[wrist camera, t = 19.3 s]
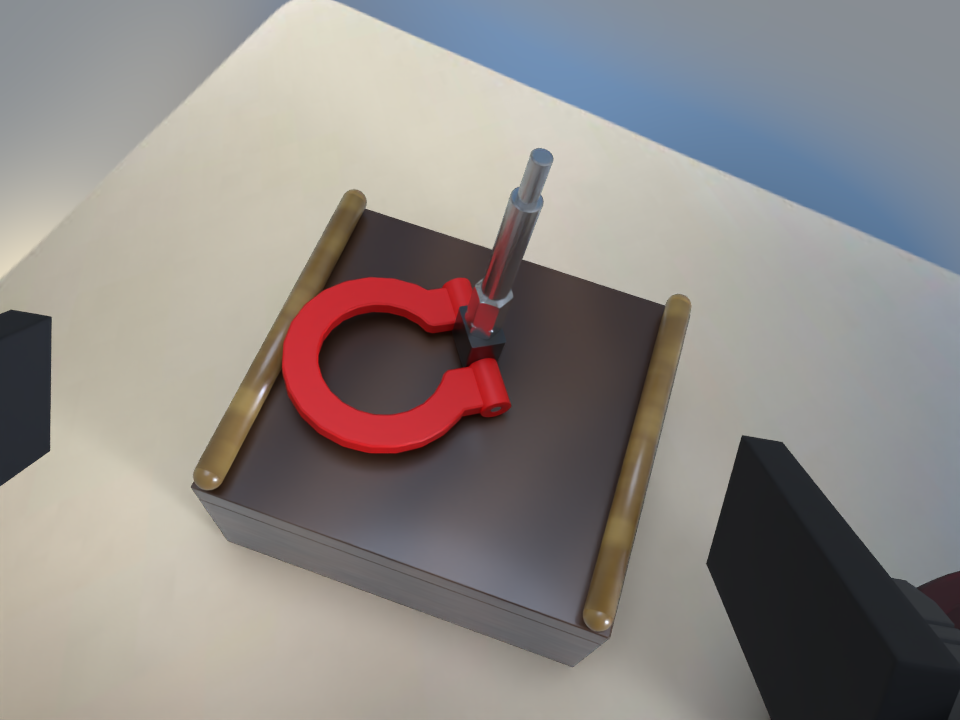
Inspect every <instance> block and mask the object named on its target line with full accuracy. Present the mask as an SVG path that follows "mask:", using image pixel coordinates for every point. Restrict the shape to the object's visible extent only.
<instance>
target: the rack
mask: <svg viewBox="0 0 960 720" xmlns="http://www.w3.org/2000/svg"><path fill="white" fill-rule="evenodd" d="M366 204H367V200H366V197H365V195H364V194H363V193H362V192H361V191H359V190H355V189H353V190H349V191H347V192H346V193H345V194H344V195H343V197H342V199H341V201H340V203H339V205H338V206H337V208H336V210H335V212H334V214H333V216H332V217H331V219H330V221H329V223H328V225H327V227H326V229H325V230H324V232H323V234H322V236H321V238H320V240H319V241H318V243H317V245H316V247H315V249H314V251H313V252H312V254H311V256H310V258H309V260H308V262H307V263H306V265H305V267H304V269H303V271H302V273H301V275H300V276H299V278H298V280H297V282H296V284H295V286H294V287H293V289H292V291H291V293H290V295H289V297H288V298H287V300H286V302H285V304H284V306H283V308H282V309H281V311H280V313H279V315H278V317H277V319H276V320H275V322H274V324H273V326H272V328H271V330H270V332H269V333H268V335H267V337H266V339H265V341H264V343H263V344H262V346H261V348H260V350H259V352H258V354H257V355H256V357H255V359H254V361H253V363H252V365H251V366H250V368H249V370H248V372H247V374H246V376H245V378H244V379H243V381H242V383H241V385H240V387H239V389H238V390H237V392H236V394H235V396H234V398H233V400H232V401H231V403H230V405H229V407H228V409H227V411H226V412H225V414H224V416H223V418H222V420H221V422H220V423H219V425H218V427H217V429H216V431H215V433H214V435H213V436H212V438H211V440H210V442H209V444H208V446H207V447H206V449H205V451H204V453H203V455H202V457H201V458H200V460H199V462H198V464H197V466H196V468H195V470H194V473H193V479H194V482H193V484H192V486H191V488H192V490H193V491H194V493H195V494H196V495H197V497H198V498H199V500H200V501H201V503H202V504H203V506H204V507H205V509H206V510H207V511H208V513H209V514H210V516H211V517H212V519H213V520H214V522H215V523H216V524H217V526H218V527H219V529H220V530H221V532H222V533H223V534H224V536H225V537H226V539H227V540H228V541H230V542H233V543H235V544H238V545H241V546H243V547H246V548H249V549H252V550H254V551H257V552H260V553H263V554H265V555H268V556H271V557H274V558H276V559H279V560H282V561H284V562H287V563H290V564H293V565H295V566H298V567H301V568H304V569H306V570H309V571H312V572H315V573H317V574H320V575H323V576H325V577H328V578H331V579H334V580H336V581H339V582H342V583H345V584H347V585H350V586H353V587H355V588H358V589H361V590H364V591H366V592H369V593H372V594H375V595H377V596H380V597H383V598H386V599H388V600H391V601H394V602H396V603H399V604H402V605H405V606H407V607H410V608H413V609H416V610H418V611H421V612H424V613H427V614H429V615H432V616H435V617H437V618H440V619H443V620H446V621H448V622H451V623H454V624H457V625H459V626H462V627H465V628H468V629H470V630H473V631H476V632H478V633H481V634H484V635H487V636H489V637H492V638H495V639H498V640H500V641H503V642H506V643H509V644H511V645H514V646H517V647H519V648H522V649H525V650H528V651H530V652H533V653H536V654H539V655H541V656H544V657H547V658H549V659H552V660H555V661H558V662H560V663H563V664H566V665H569V666H571V667H574V666H575V665H576V664H578V663H579V662H580V661H581V660H583V659H584V658H585V657H587V656H588V655H589V654H590V653H592V652H593V651H594V650H595V649H597V648H598V647H599V646H601V645H602V644H603V643H604V642H606V641H607V640H608V639H609V638H610V636H611V632H612V628H613V624H614V620H615V616H616V612H617V608H618V604H619V600H620V596H621V592H622V588H623V583H624V579H625V575H626V571H627V567H628V563H629V559H630V555H631V551H632V547H633V543H634V539H635V535H636V531H637V527H638V523H639V519H640V515H641V511H642V507H643V503H644V499H645V495H646V491H647V487H648V483H649V479H650V475H651V471H652V467H653V463H654V459H655V455H656V451H657V447H658V443H659V439H660V435H661V431H662V427H663V423H664V419H665V415H666V411H667V407H668V403H669V399H670V395H671V391H672V387H673V383H674V379H675V374H676V370H677V366H678V362H679V358H680V354H681V350H682V346H683V342H684V338H685V334H686V330H687V326H688V322H689V318H690V312H691V302H690V300H689V299H688V297H686V296H685V295H682V294H675V295H672V296H671V297H670V298H669V299H668V300H667V302H666V304H665V306H664V305H661V304H658V303H655V302H652V301H649V300H646V299H643V298H639V297H636V296H633V295H630V294H627V293H624V292H621V291H618V290H615V289H612V288H609V287H605V286H602V285H599V284H596V283H593V282H590V281H587V280H584V279H581V278H578V277H575V276H571V275H568V274H565V273H562V272H559V271H556V270H553V269H550V268H547V267H544V266H541V265H538V264H534V263H531V262H528V261H525V260H522V261H521V264H520V266H519V269H518V271H517V274H516V277H515V279H514V282H513V284H512V287H511V290H512V293H513V301H512V303H511V306H510V309H509V311H508V314H507V316H506V319H505V320H504V324H503V326H502V329H503V332H504V335H505V338H506V343H505V345H504V348H503V350H502V353H501V355H500V357H499V360H498V362H497V364H498V367H499V370H500V373H501V376H502V379H503V382H504V385H505V388H506V391H507V394H508V397H509V400H510V403H511V408H510V409H509V410H508V411H506V412H505V413H503V414H501V415H498V416H494V417H483V416H481V414H480V413H478V414H473V415H467V416H462V417H461V419H460V420H459V421H458V422H457V423H456V424H455V425H454V426H453V427H452V428H451V429H450V430H449V431H448V432H447V433H445V434H444V435H443V436H442V437H440V438H438V439H436V440H434V441H432V442H430V443H429V444H427V445H425V446H423V447H421V448H417V449H412V450H408V451H404V452H400V453H366V452H362V451H358V450H354V449H350V448H347V447H343V446H341V445H339V444H337V443H335V442H333V441H332V440H330V439H328V438H326V437H324V436H322V435H320V434H319V433H318V432H317V431H316V430H315V429H314V428H313V427H311V426H310V425H309V424H308V423H307V422H306V421H305V420H304V419H303V418H302V417H301V416H300V414H299V413H298V411H297V409H296V408H295V406H294V405H293V403H292V401H291V400H290V398H289V396H288V393H287V389H286V386H285V382H284V378H283V374H282V357H283V343H284V340H285V337H286V335H287V332H288V329H289V327H290V324H291V322H292V321H293V319H294V318H295V317H296V315H297V314H298V313H299V311H300V310H301V309H302V308H303V306H304V305H305V304H306V303H307V302H309V301H310V300H311V299H313V298H314V297H315V296H317V295H318V294H319V293H321V292H322V291H323V290H326V289H328V288H330V287H333V286H335V285H337V284H340V283H342V282H345V281H349V280H355V279H361V278H367V277H376V278H394V279H398V280H402V281H405V282H409V283H413V284H416V285H419V286H421V287H422V288H424V289H426V290H432V289H439V288H442V287H443V285H444V284H445V283H447V282H448V281H450V280H452V279H455V278H466V279H468V280H469V281H470V283H471V286H472V289H474V286H475V285H476V284H477V283H478V282H479V281H480V280H482V279H483V277H484V274H485V271H486V268H487V265H488V262H489V259H490V256H491V253H492V250H491V249H488V248H485V247H482V246H479V245H476V244H473V243H470V242H467V241H463V240H460V239H457V238H454V237H451V236H448V235H445V234H442V233H439V232H436V231H433V230H429V229H426V228H423V227H420V226H417V225H414V224H411V223H408V222H405V221H402V220H399V219H395V218H392V217H389V216H386V215H383V214H380V213H377V212H374V211H371V210H368V209H365V208H366ZM318 364H319V368H320V371H321V375H322V378H323V379H324V381H325V383H326V384H327V386H328V387H329V389H330V391H331V392H332V393H334V394H335V395H336V396H337V397H338V398H339V399H340V400H341V401H342V402H344V403H346V404H348V405H349V406H351V407H353V408H355V409H357V410H360V411H364V412H367V413H371V414H382V415H393V414H397V413H402V412H406V411H409V410H411V409H413V408H415V407H417V406H419V405H421V404H423V403H424V402H425V401H426V400H427V399H428V398H429V397H431V396H432V395H433V394H434V393H435V391H436V389H437V388H438V386H439V384H440V383H441V380H442V377H443V374H444V373H445V372H446V371H447V370H452V369H458V368H463V366H462V363H461V359H460V356H459V353H458V350H457V347H456V343H455V340H454V337H453V334H452V330H451V331H444V332H438V333H430V332H426V331H425V330H424V329H423V328H422V327H421V326H420V325H418V324H417V323H415V322H413V321H411V320H409V319H407V318H405V317H403V316H399V315H396V314H392V313H385V312H370V313H365V314H359V315H356V316H354V317H351V318H349V319H347V320H344V321H343V322H341V323H340V324H339V325H338V326H336V327H335V328H334V329H333V330H331V332H330V333H329V335H328V336H327V337H326V339H325V340H324V341H323V344H322V347H321V350H320V352H319V355H318Z"/></svg>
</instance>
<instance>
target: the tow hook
mask: <svg viewBox="0 0 960 720" xmlns="http://www.w3.org/2000/svg"><path fill="white" fill-rule="evenodd" d="M552 163H553V156H552V154H551V153H550V152H549V151H548V150H546V149H542V148H537V149H534V150H533V151H532V152H531V154H530V157H529V160H528V163H527V166H526V169H525V172H524V175H523V178H522V181H521V184H520V187H517V188H515V189H514V190H513V191H512V193H511V195H510V198H509V201H508V204H507V207H506V210H505V213H504V216H503V219H502V222H501V225H500V228H499V231H498V234H497V237H496V241H495V244H494V247H493V250H492V253H491V256H490V259H489V262H488V265H487V268H486V271H485V274H484V277H483V279H482V280H480V281H479V282H478V283H477V284H476V285H475V286H474V289H472V286H471V283H470V281H469V280H468V279H466V278H455V279H452V280H450V281H448V282H447V283H445V284H444V285H443V287H442V288H439V289H432V290H426V289H424V288H422V287H421V286H419V285H416V284H413V283H409V282H405V281H402V280H398V279H394V278H376V277H367V278H361V279H355V280H349V281H345V282H342V283H340V284H337V285H335V286H333V287H330V288H328V289H326V290H323V291H322V292H321V293H319V294H318V295H317V296H315V297H314V298H313V299H311V300H310V301H309V302H307V303H306V304H305V305H304V306H303V308H302V309H301V310H300V311H299V313H298V314H297V315H296V317H295V318H294V319H293V321H292V322H291V324H290V327H289V329H288V332H287V335H286V337H285V340H284V343H283V357H282V374H283V378H284V382H285V386H286V389H287V393H288V396H289V398H290V400H291V401H292V403H293V405H294V406H295V408H296V409H297V411H298V413H299V414H300V416H301V417H302V418H303V419H304V420H305V421H306V422H307V423H308V424H309V425H310V426H311V427H313V428H314V429H315V430H316V431H317V432H318V433H319V434H320V435H322V436H324V437H326V438H328V439H330V440H332V441H333V442H335V443H337V444H339V445H341V446H343V447H347V448H350V449H354V450H358V451H362V452H366V453H400V452H404V451H408V450H412V449H417V448H421V447H423V446H425V445H427V444H429V443H430V442H432V441H434V440H436V439H438V438H440V437H442V436H443V435H444V434H445V433H447V432H448V431H449V430H450V429H451V428H452V427H453V426H454V425H455V424H456V423H457V422H458V421H459V420H460V419H461V417H462V416H467V415H473V414H478V413H480V414H481V416H483V417H494V416H498V415H501V414H503V413H505V412H506V411H508V410H509V409H510V408H511V403H510V400H509V397H508V394H507V391H506V388H505V385H504V382H503V379H502V376H501V373H500V370H499V367H498V364H497V362H498V360H499V357H500V355H501V353H502V350H503V348H504V345H505V343H506V338H505V335H504V332H503V329H502V326H503V324H504V320H505V319H506V316H507V314H508V311H509V309H510V306H511V303H512V301H513V293H512V290H511V287H512V284H513V282H514V279H515V277H516V274H517V271H518V269H519V266H520V264H521V261H522V258H523V256H524V253H525V251H526V248H527V245H528V243H529V240H530V238H531V235H532V232H533V230H534V227H535V225H536V222H537V219H538V217H539V214H540V212H541V209H542V206H543V197H542V196H541V192H542V189H543V187H544V184H545V181H546V179H547V176H548V173H549V171H550V168H551V165H552ZM370 312H385V313H392V314H396V315H399V316H403V317H405V318H407V319H409V320H411V321H413V322H415V323H417V324H418V325H420V326H421V327H422V328H423V329H424V330H425V331H426V332H430V333H438V332H444V331H451V330H452V334H453V337H454V340H455V343H456V347H457V350H458V353H459V356H460V359H461V363H462V366H463V368H458V369H452V370H447V371H446V372H445V373H444V374H443V377H442V380H441V383H440V384H439V386H438V388H437V389H436V391H435V393H434V394H433V395H432V396H431V397H429V398H428V399H427V400H426V401H425V402H424V403H423V404H421V405H419V406H417V407H415V408H413V409H411V410H409V411H406V412H402V413H397V414H393V415H382V414H371V413H367V412H364V411H360V410H357V409H355V408H353V407H351V406H349V405H348V404H346V403H344V402H342V401H341V400H340V399H339V398H338V397H337V396H336V395H335V394H334V393H332V392H331V391H330V389H329V387H328V386H327V384H326V383H325V381H324V379H323V378H322V375H321V371H320V368H319V364H318V355H319V352H320V350H321V347H322V344H323V341H324V340H325V339H326V337H327V336H328V335H329V333H330V332H331V330H333V329H334V328H335V327H336V326H338V325H339V324H340V323H341V322H343V321H344V320H347V319H349V318H351V317H354V316H356V315H359V314H365V313H370Z"/></svg>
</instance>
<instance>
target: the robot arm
mask: <svg viewBox="0 0 960 720" xmlns="http://www.w3.org/2000/svg"><path fill="white" fill-rule="evenodd" d="M51 325H52V317H51V316H45V315H39V314H33V313H27V312H21V311H16V310H9V311H7V312H4V313H1V314H0V486H1V485H3V484H4V483H6V482H7V481H8V480H10V479H11V478H13V477H14V476H15V475H17V474H18V473H20V472H21V471H22V470H24V469H25V468H27V467H28V466H29V465H31V464H32V463H34V462H35V461H36V460H38V459H39V458H41V457H42V456H43V455H45V454H46V453H48V452H49V451H50V410H51ZM706 564H707V566H708V568H709V571H710V573H711V576H712V578H713V581H714V583H715V585H716V588H717V590H718V593H719V595H720V597H721V600H722V602H723V605H724V607H725V609H726V612H727V614H728V617H729V619H730V621H731V624H732V626H733V629H734V631H735V634H736V636H737V638H738V641H739V643H740V646H741V648H742V650H743V653H744V655H745V658H746V660H747V662H748V665H749V667H750V670H751V672H752V675H753V677H754V679H755V682H756V684H757V687H758V689H759V691H760V694H761V696H762V699H763V701H764V703H765V706H766V708H767V711H768V713H769V715H770V718H771V720H960V630H959V629H956V628H954V625H955V624H954V623H953V622H952V621H951V620H950V618H949V617H948V616H947V615H946V614H945V613H944V611H943V610H942V609H941V608H940V607H939V606H938V604H937V603H936V602H935V601H933V600H932V599H931V598H929V597H928V596H926V595H925V594H924V593H922V592H921V591H920V590H918V589H917V588H915V587H914V586H913V585H911V584H910V583H908V582H907V581H906V580H901V579H895V578H891V577H890V576H889V575H888V573H887V572H886V571H885V570H884V568H883V567H882V566H881V565H880V563H879V562H878V561H877V560H876V558H875V557H874V556H873V555H872V553H871V552H870V551H869V550H868V548H867V547H866V546H865V545H864V543H863V542H862V541H861V540H860V538H859V537H858V536H857V535H856V533H855V532H854V531H853V530H852V528H851V527H850V526H849V525H848V523H847V522H846V521H845V520H844V519H843V517H842V516H841V515H840V514H839V512H838V511H837V510H836V509H835V507H834V506H833V505H832V504H831V502H830V501H829V500H828V499H827V497H826V496H825V495H824V494H823V492H822V491H821V490H820V489H819V487H818V486H817V485H816V484H815V482H814V481H813V480H812V479H811V477H810V476H809V475H808V474H807V472H806V471H805V470H804V469H803V467H802V466H801V465H800V464H799V462H798V461H797V460H796V459H795V457H794V456H793V455H792V454H791V452H790V451H789V450H788V449H787V447H786V446H785V445H784V444H783V442H779V441H773V440H767V439H761V438H755V437H749V436H744V435H742V437H741V441H740V444H739V448H738V452H737V455H736V459H735V462H734V466H733V470H732V473H731V477H730V480H729V484H728V488H727V491H726V495H725V498H724V502H723V506H722V509H721V513H720V516H719V520H718V523H717V527H716V531H715V534H714V538H713V541H712V545H711V549H710V552H709V556H708V559H707V563H706Z"/></svg>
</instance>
